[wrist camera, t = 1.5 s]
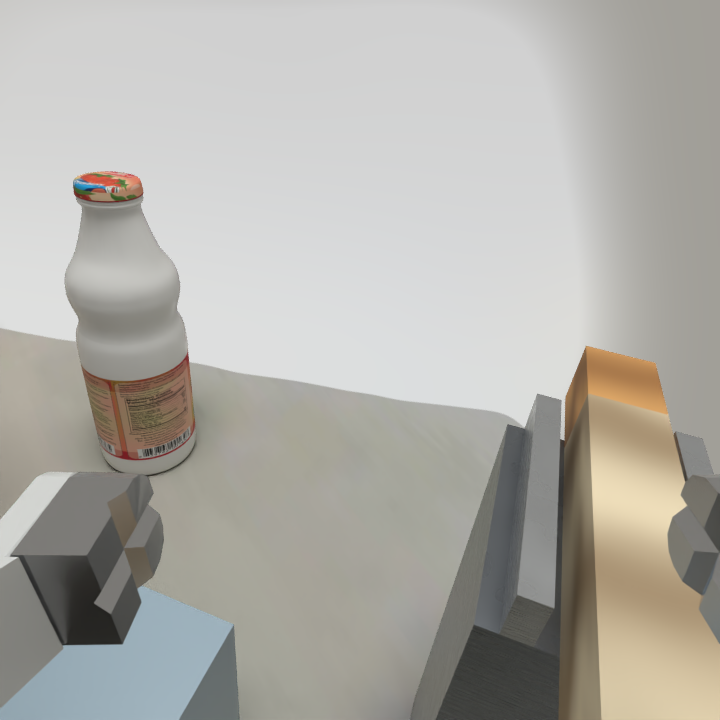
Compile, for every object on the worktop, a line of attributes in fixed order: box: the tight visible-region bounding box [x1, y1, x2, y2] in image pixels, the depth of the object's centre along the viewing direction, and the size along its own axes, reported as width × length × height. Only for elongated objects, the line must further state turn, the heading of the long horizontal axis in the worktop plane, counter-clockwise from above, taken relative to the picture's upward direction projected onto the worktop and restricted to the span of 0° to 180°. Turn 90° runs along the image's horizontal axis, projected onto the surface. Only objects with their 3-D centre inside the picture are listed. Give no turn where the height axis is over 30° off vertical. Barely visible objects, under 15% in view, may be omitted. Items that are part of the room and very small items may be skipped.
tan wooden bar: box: [558, 346, 720, 720], centre depth 16 cm, size 22×3×3 cm, turn 161°
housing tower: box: [410, 394, 714, 720], centre depth 26 cm, size 12×8×28 cm, turn 161°
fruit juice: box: [65, 172, 196, 475], centre depth 48 cm, size 9×9×28 cm
